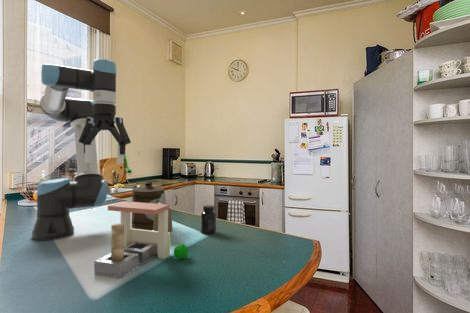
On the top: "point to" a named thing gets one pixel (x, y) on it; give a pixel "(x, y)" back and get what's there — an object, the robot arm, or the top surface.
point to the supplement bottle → (208, 220)
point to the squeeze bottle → (155, 224)
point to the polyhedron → (181, 251)
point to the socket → (116, 265)
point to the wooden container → (145, 196)
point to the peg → (117, 242)
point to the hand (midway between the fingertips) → (104, 163)
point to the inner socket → (142, 250)
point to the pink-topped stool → (145, 235)
